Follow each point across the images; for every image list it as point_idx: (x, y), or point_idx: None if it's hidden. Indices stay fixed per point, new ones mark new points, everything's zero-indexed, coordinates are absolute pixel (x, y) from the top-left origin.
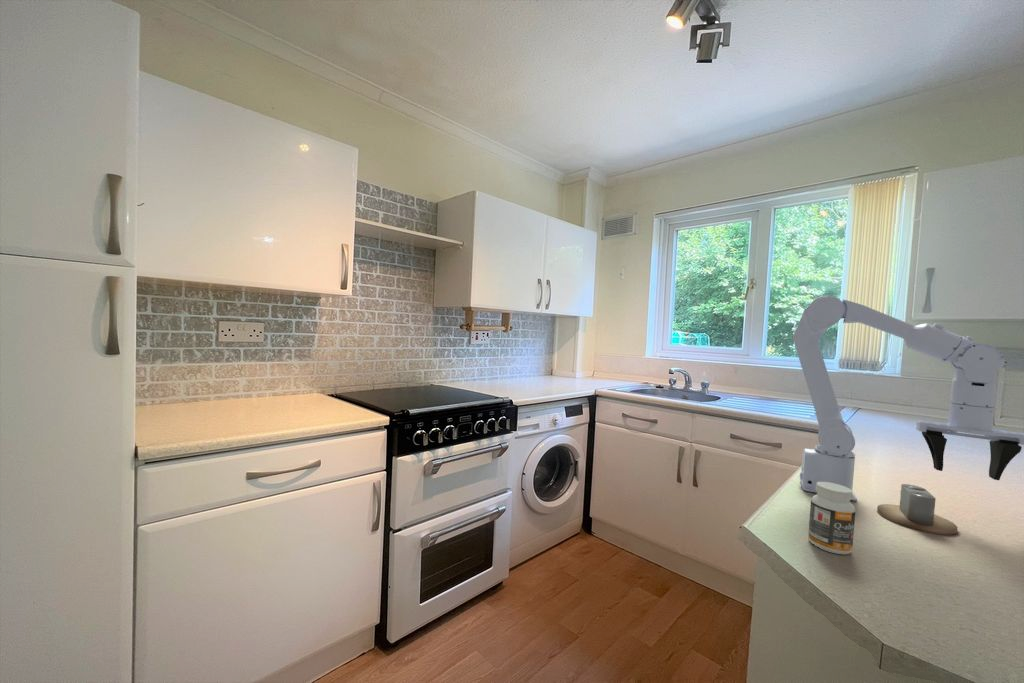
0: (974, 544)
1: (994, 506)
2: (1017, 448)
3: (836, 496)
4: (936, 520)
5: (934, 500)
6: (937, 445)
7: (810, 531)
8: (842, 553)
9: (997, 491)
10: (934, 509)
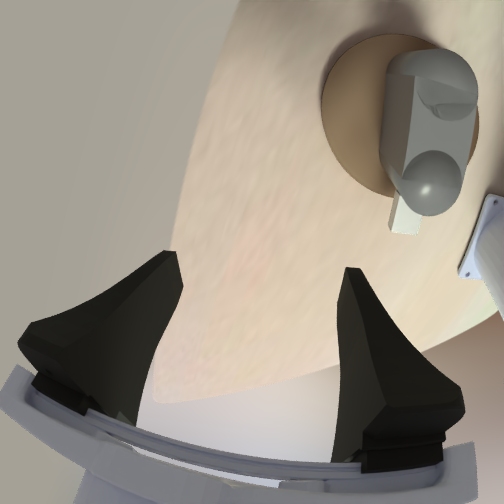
0: (313, 12)
1: (183, 326)
2: (26, 332)
3: None
4: (363, 115)
5: (421, 55)
6: (409, 362)
7: None
8: None
9: (169, 381)
10: (404, 62)
